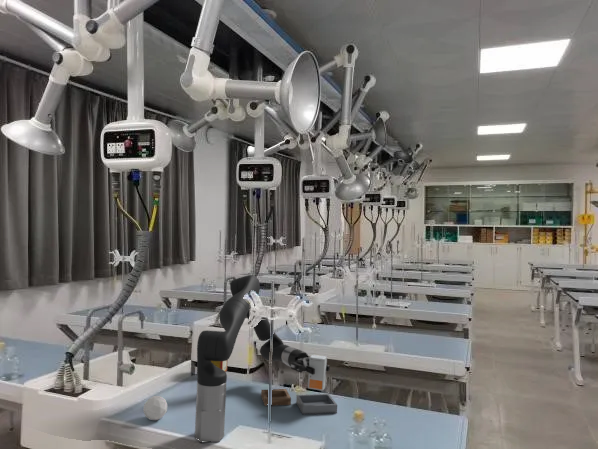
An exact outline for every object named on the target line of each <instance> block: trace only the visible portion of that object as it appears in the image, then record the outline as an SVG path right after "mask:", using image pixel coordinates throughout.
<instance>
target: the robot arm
mask: <svg viewBox="0 0 598 449" xmlns="http://www.w3.org/2000/svg"><path fill="white" fill-rule="evenodd" d="M229 284H230V285H229V289H230V293H231V295H232V296H231V297H230V298H228V299H227V300H226V301H225V302H224V304H223V305H222V307H221V310H220V311H219V315H218V316H219V317H218V318H219V322H220V324H221V327H222V328H223V329H224V331H221V330H220V331H219V330H202V331H201V332H200V334H199V336H198V338H197V346H196V359H197V360H196V361H197V362H196V363H197V364H196V376H197V378H196V379H197V380H196V381H197V382H196V400H195V401H196V403H195V419H194V420H195V422H194V423H195V426H194V439H196V438H197V439H199V440H200V441H199V440H198V441H199V443H200V442H202V441H211V442H210V443H217V442H218V443H219V442H220V441H221V440H222V439H223V438H224V437H225V428H226V427H225V423H226V403H227V402H226V400H227V380H228V375H227V371H226V372H225V371H224V370H222V369H220V368H218V367H216V366H215V365H214V364H213V363H212V362H211V361H226V360H229V359H230V357H231V356H232V354H233V350H234V349H235V348H234V347H235V344H236V340H237V338H238V335H239V332H240V331H241V328H242V326H243V324H244V322H245V320H246V318H247V319H248V320H249V309H250V308H249V304H248V303H247V302H246V301H245V300H244V299H243V297H244V295H245V294H246V293H248V292H249V291H251V290H254V291H256V292H257V293H258V295H259V293H260V289H261V288H260V287H261V286H260V285H261V284H260V281H259V279H258V278H257V276H255V275H253V274H249V275H245V276H242V277H238V278H234V279H232V280H231V282H230V283H229ZM270 325H271V323H270V320H269V319H268V320H261V321H260V322H259V323H258V325H257V326H256V327H254V328H253V330H254V333H255V335H256V337H257V338H258V340H259V341H261V342H265V341H266V342H265V343H264V344H262V345H261V347H260V349H259V353H260V356H262V358H263V359H265V360H266V361H269V352H270ZM309 360H310V356H309V355H308V353H307V352H306V351H303V350H301V349H298V348H296V347H292V346H289V345H288V344H285V343H284V341H283V340H282V339H281V338H280V337H279V336H278V335H277V333H276V332H275V331H274V334H273V361H272V362H281V363H283V364H285V365H286V366H287V367H290V369H291V370H293V371H295V372H298V373H300V374H301V373H303V372H304V373H308V374H309V373H310V374H312V375H313V374H315V369H314V368H312V367H310V366H309ZM330 367H331V366H330V365H329V364H327V365H326V372H330V369H331V368H330ZM197 439H196V440H197ZM202 443H203V442H202Z"/></svg>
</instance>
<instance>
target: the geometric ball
mask: <svg viewBox="0 0 598 449" xmlns="http://www.w3.org/2000/svg"><path fill="white" fill-rule="evenodd" d="M142 411H143V413H144V416H145V417H146V418H147V419H149V420H150V421H159V419H160V420H161V419H162V418H163V417H164V416H165V415H166V413H167V412H168V403H167V400H166V399H165V398H164V397H162V396H160V395H153V396H151V397H149V398H148V399H147V400H146V402H145V403H143V410H142Z"/></svg>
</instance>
